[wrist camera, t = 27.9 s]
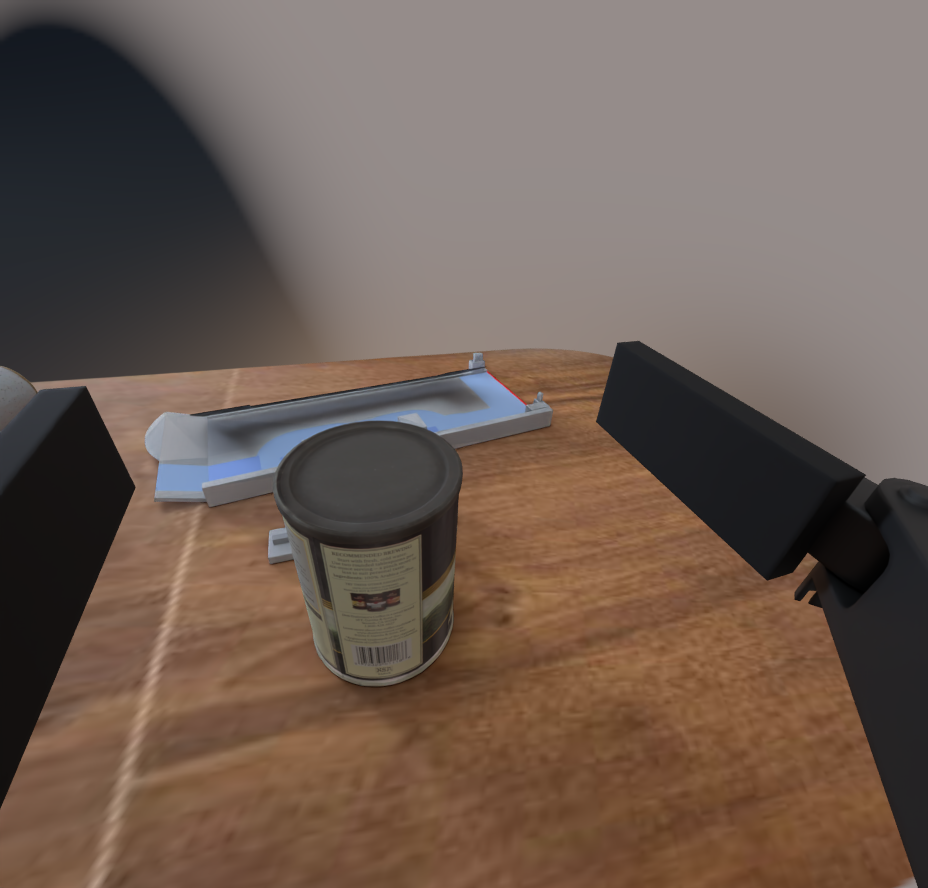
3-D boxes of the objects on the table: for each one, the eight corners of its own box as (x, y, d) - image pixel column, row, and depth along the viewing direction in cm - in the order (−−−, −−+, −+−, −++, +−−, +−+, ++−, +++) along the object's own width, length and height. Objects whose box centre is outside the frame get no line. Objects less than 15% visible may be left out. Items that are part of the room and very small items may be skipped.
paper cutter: (550, 425, 56) (557, 387, 53) (137, 524, 38) (111, 476, 35) (483, 369, 69) (486, 336, 66) (153, 424, 52) (136, 382, 48)
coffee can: (411, 544, 38) (408, 404, 30) (480, 636, 31) (500, 487, 23) (292, 598, 33) (250, 447, 25) (343, 722, 26) (309, 568, 18)
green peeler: (445, 503, 43) (445, 489, 42) (455, 526, 40) (455, 512, 39) (270, 536, 38) (266, 521, 37) (269, 564, 36) (265, 549, 35)
